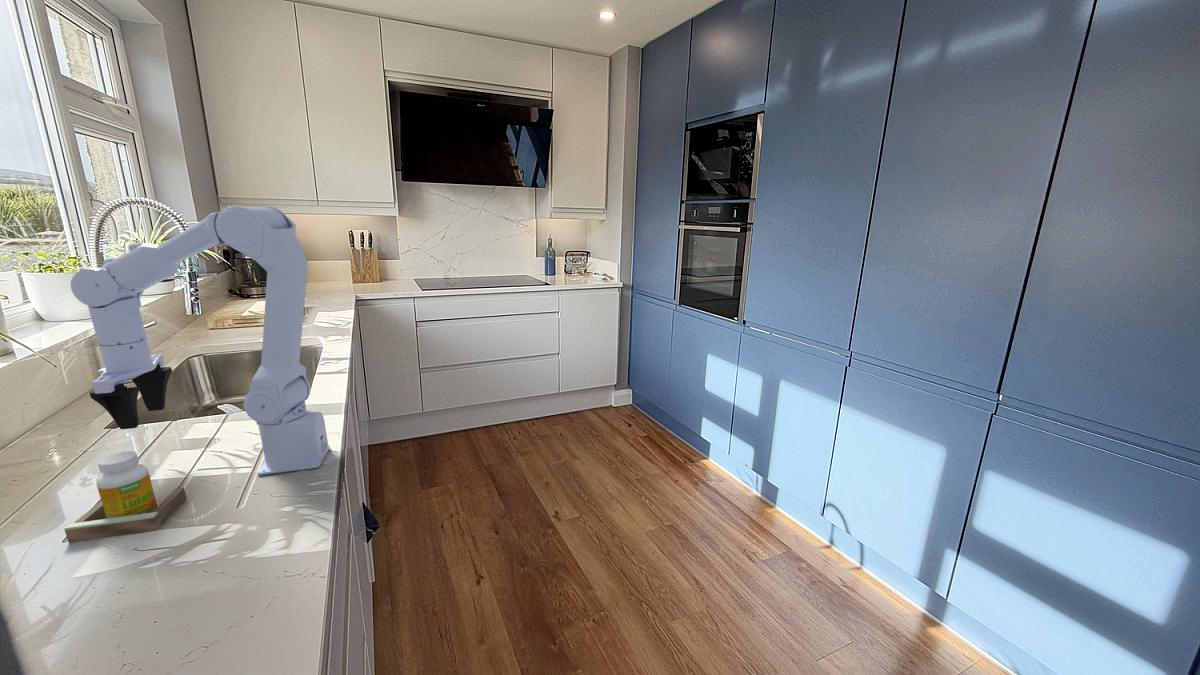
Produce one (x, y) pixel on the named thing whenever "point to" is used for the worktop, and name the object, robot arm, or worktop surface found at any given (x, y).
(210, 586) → the worktop surface
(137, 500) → the supplement bottle
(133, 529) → the dock
